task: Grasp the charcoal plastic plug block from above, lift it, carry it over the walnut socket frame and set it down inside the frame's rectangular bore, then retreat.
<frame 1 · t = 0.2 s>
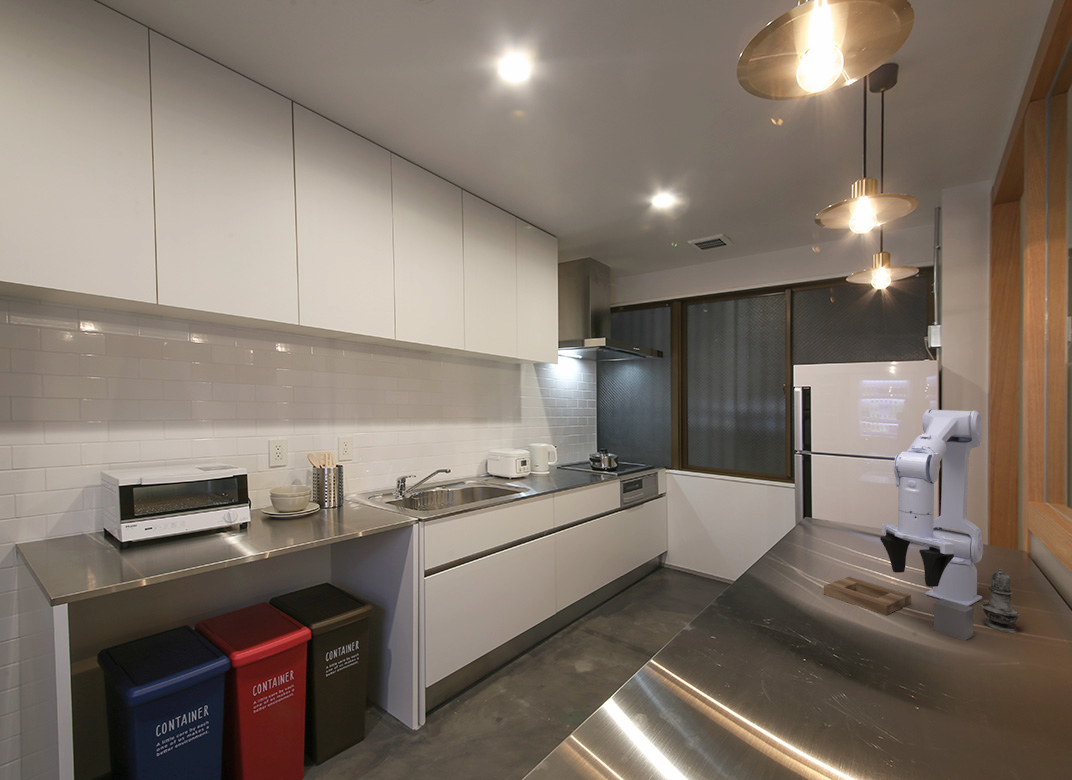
hand: (914, 578, 101), 10 cm above the countertop, fingers open, 7 cm apart
socket frame: (866, 598, 115), on the countertop
weathered stone finial: (1000, 627, 102), on the countertop
plug: (953, 632, 99), on the countertop
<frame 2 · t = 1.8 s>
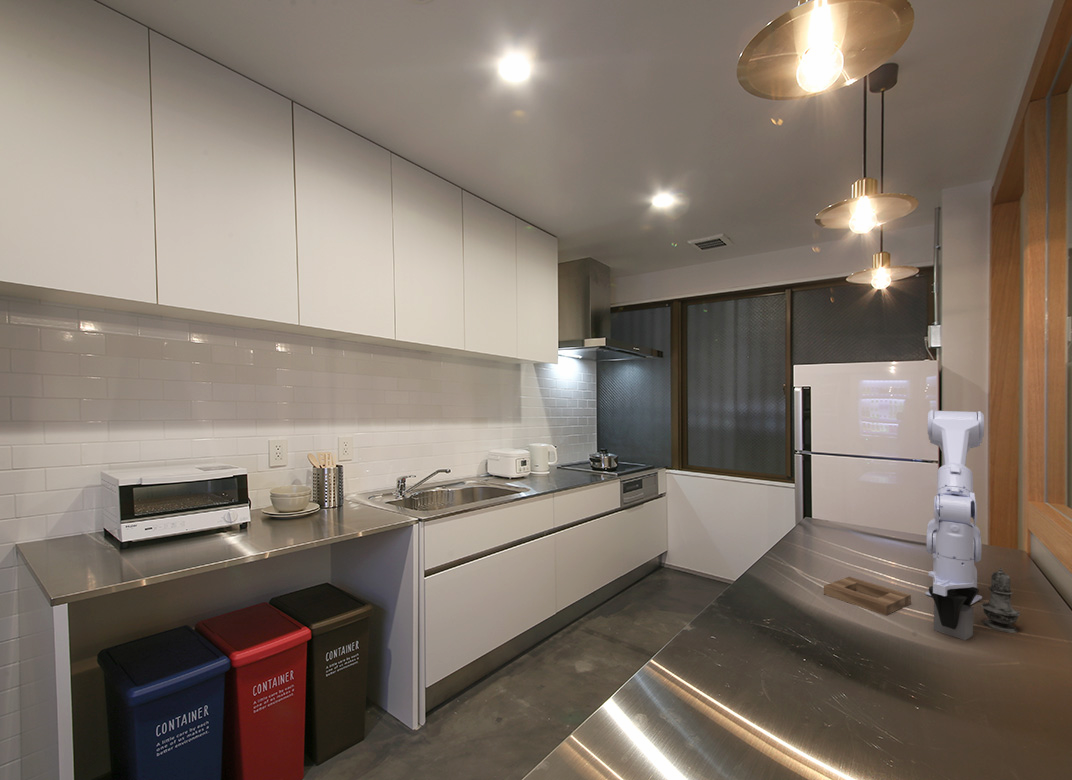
hand: (953, 624, 99), 2 cm above the countertop, fingers closed on plug, 4 cm apart
plug: (953, 632, 99), on the countertop, touching gripper
everything else where it was.
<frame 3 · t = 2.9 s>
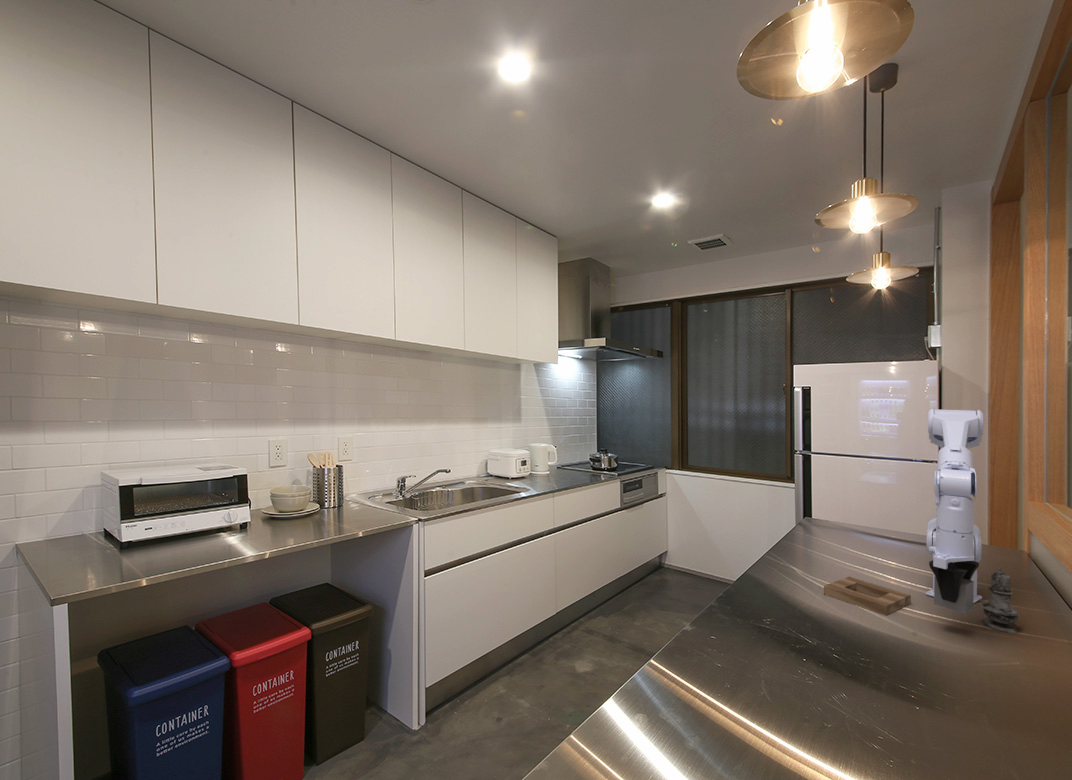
hand: (953, 598, 99), 7 cm above the countertop, fingers closed on plug, 4 cm apart
plug: (953, 606, 99), point 5 cm above the countertop, touching gripper
everything else where it was.
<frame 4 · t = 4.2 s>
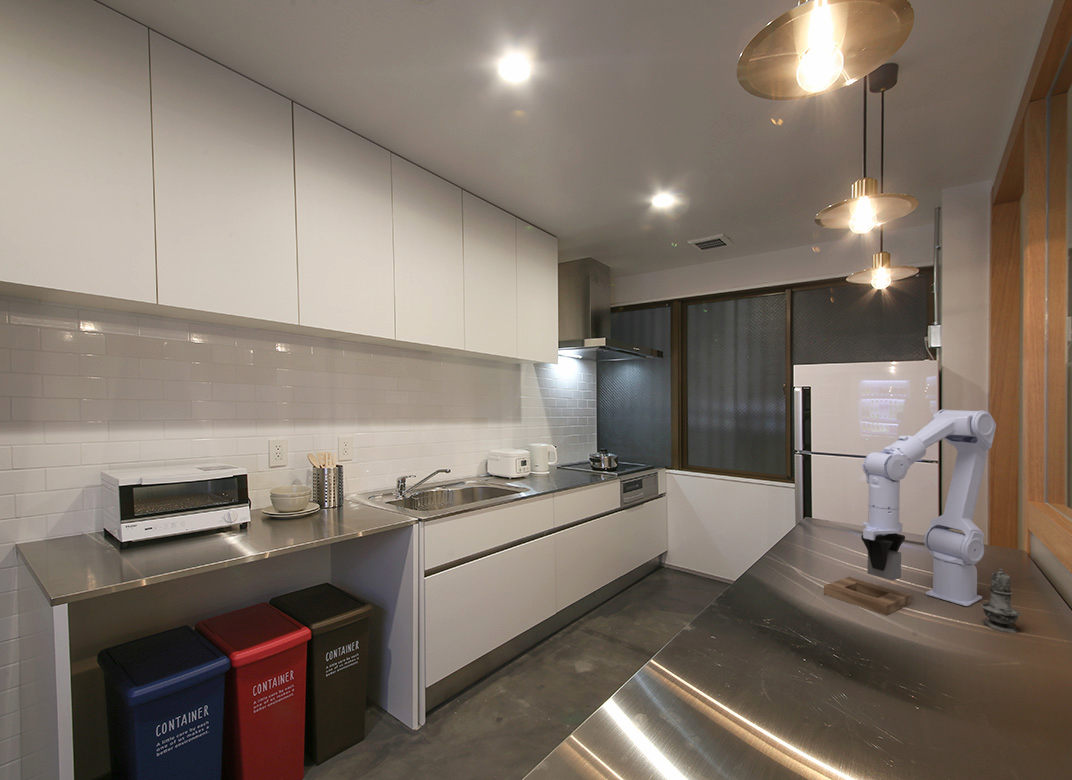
hand: (882, 567, 112), 8 cm above the countertop, fingers closed on plug, 4 cm apart
plug: (884, 575, 111), point 7 cm above the countertop, touching gripper
everything else where it was.
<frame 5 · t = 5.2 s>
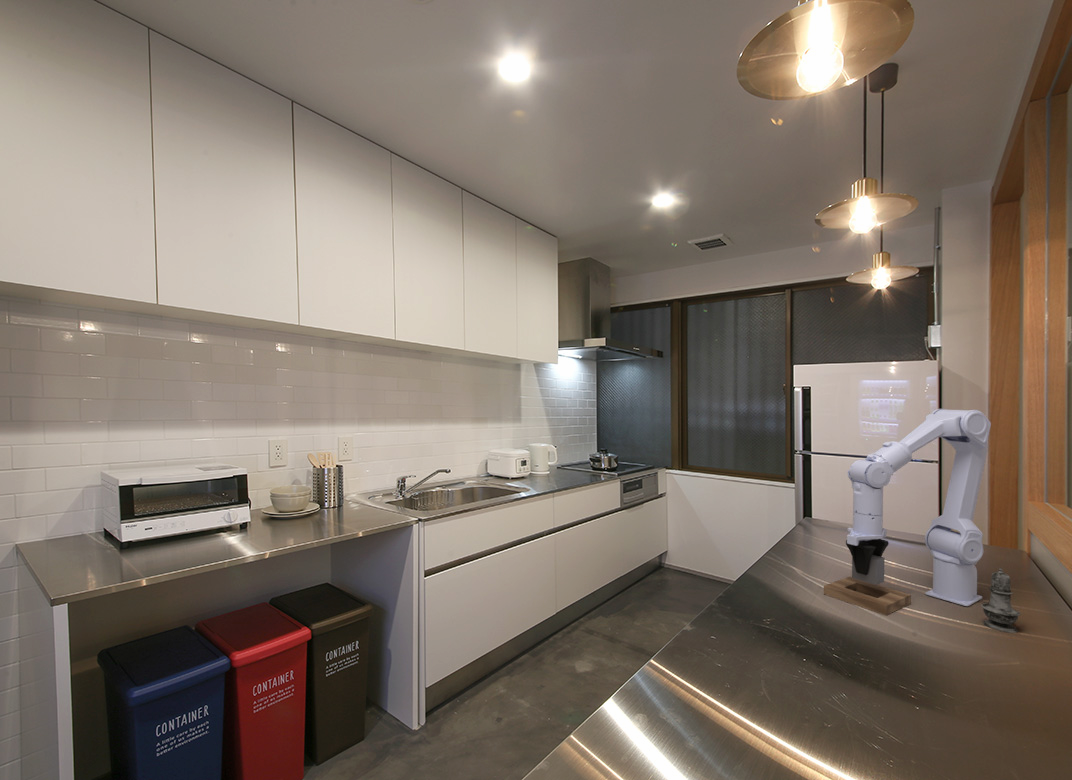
hand: (866, 571, 115), 6 cm above the countertop, fingers closed on plug, 4 cm apart
plug: (867, 579, 115), point 4 cm above the countertop, touching gripper
everything else where it was.
when the fingers open (3 cm above the countertop, at t = 6.3 s): plug drops 1 cm, resting in socket frame.
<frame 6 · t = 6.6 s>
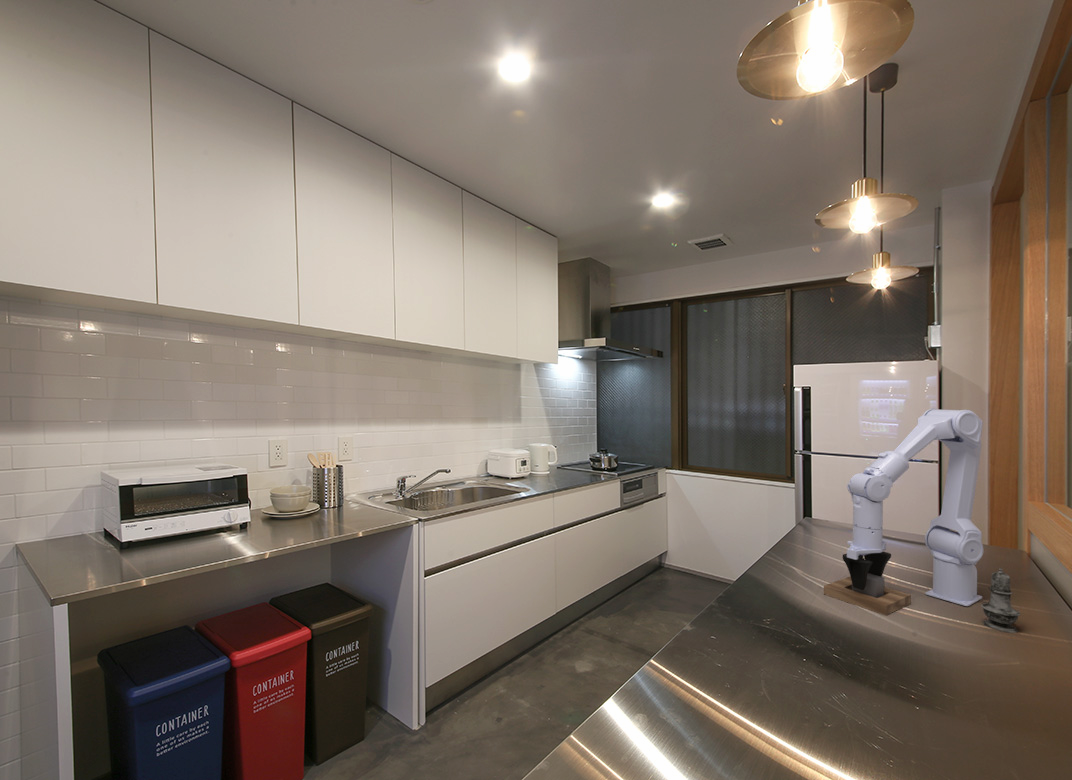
hand: (866, 585, 115), 3 cm above the countertop, fingers open, 7 cm apart
plug: (867, 599, 115), resting in socket frame
everything else where it was.
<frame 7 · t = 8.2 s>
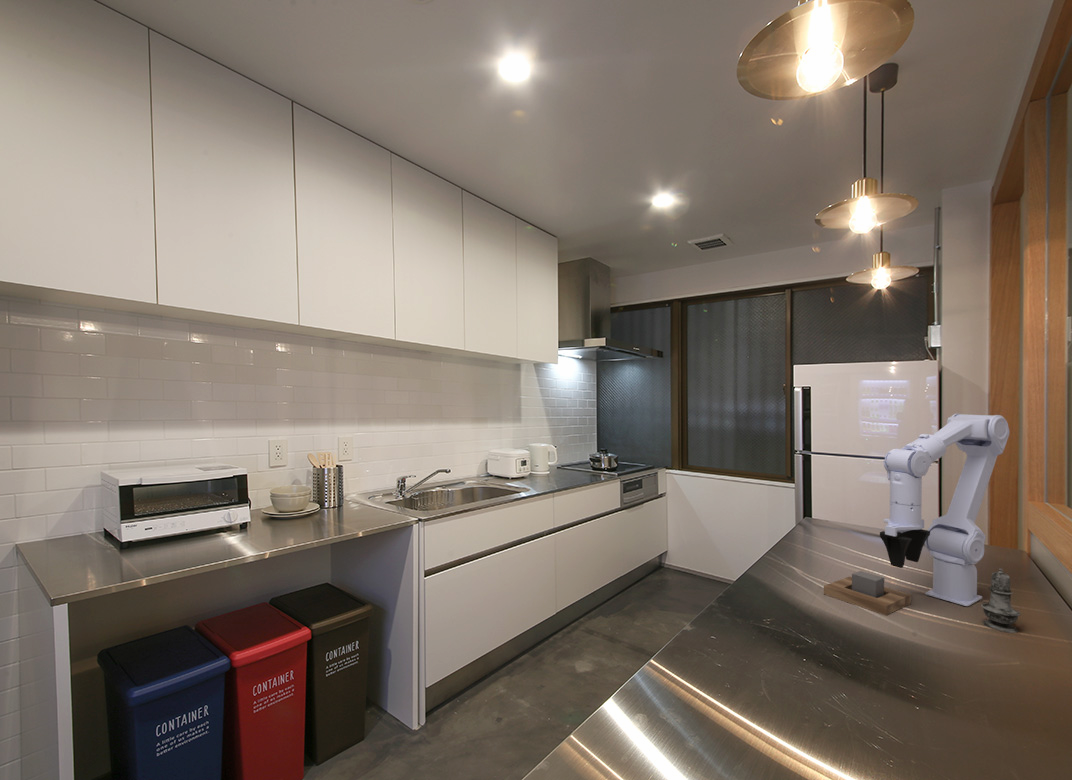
hand: (904, 563, 112), 9 cm above the countertop, fingers open, 7 cm apart
nothing on the countertop moved.
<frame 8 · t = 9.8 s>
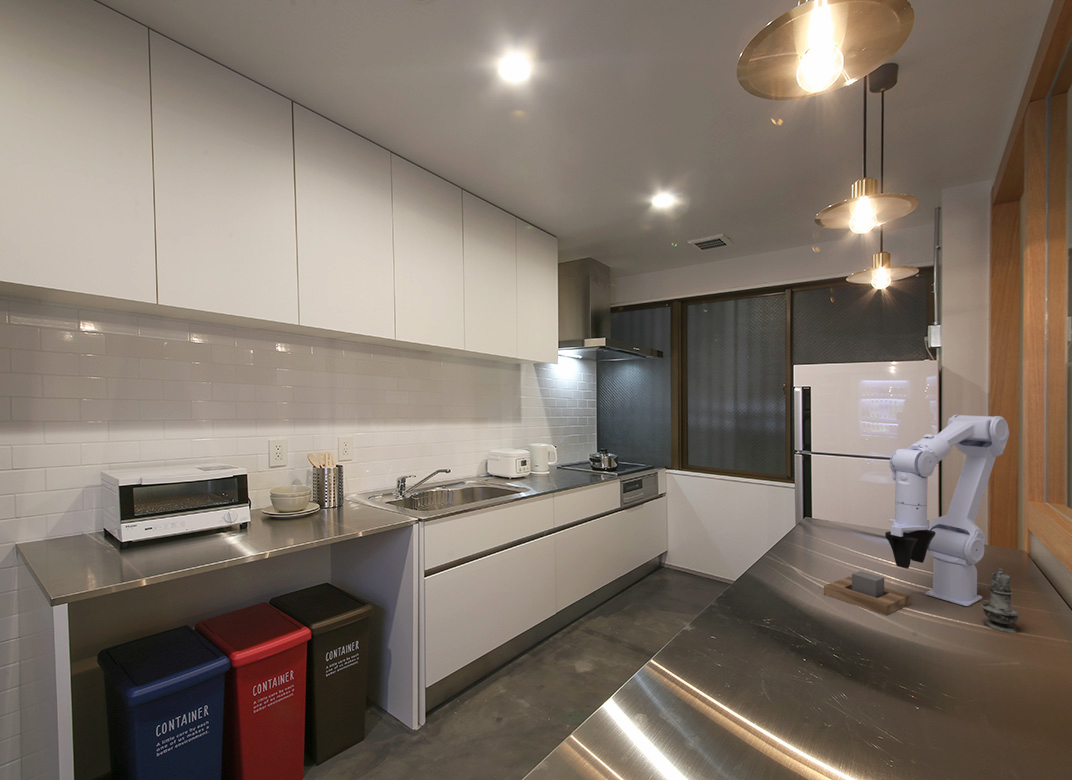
hand: (910, 564, 111), 9 cm above the countertop, fingers open, 7 cm apart
nothing on the countertop moved.
at the end: plug 0.3 cm from the socket frame (horizontally); plug resting in socket frame; plug tilted 0° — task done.
